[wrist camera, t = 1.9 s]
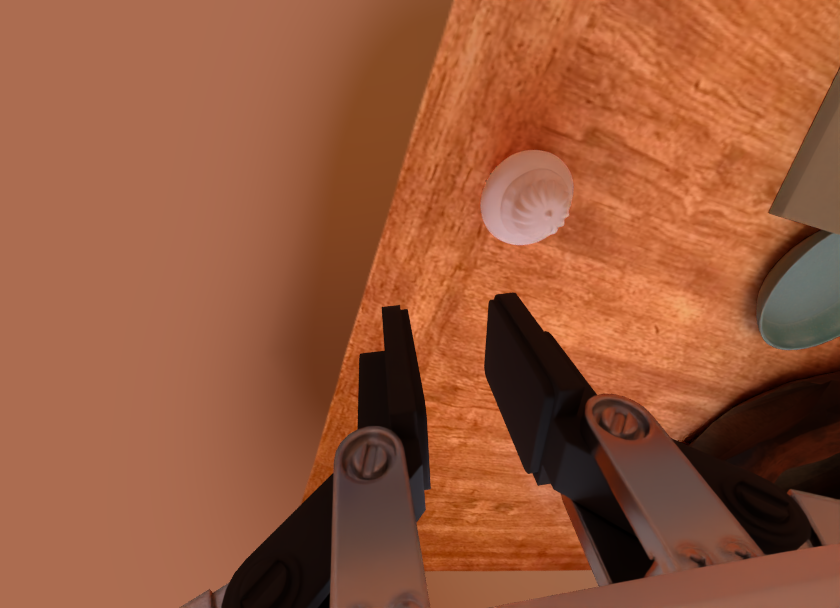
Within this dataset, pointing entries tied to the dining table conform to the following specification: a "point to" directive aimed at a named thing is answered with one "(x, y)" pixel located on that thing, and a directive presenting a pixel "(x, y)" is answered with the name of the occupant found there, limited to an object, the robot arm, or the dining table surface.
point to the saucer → (802, 295)
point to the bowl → (784, 436)
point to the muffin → (527, 197)
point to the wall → (816, 171)
